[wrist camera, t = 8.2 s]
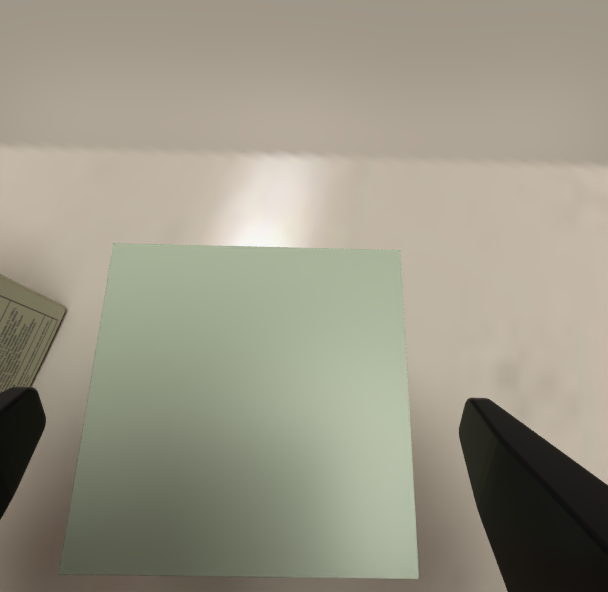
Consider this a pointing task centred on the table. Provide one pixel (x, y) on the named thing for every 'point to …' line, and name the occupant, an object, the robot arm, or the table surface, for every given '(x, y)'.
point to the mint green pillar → (247, 417)
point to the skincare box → (24, 332)
